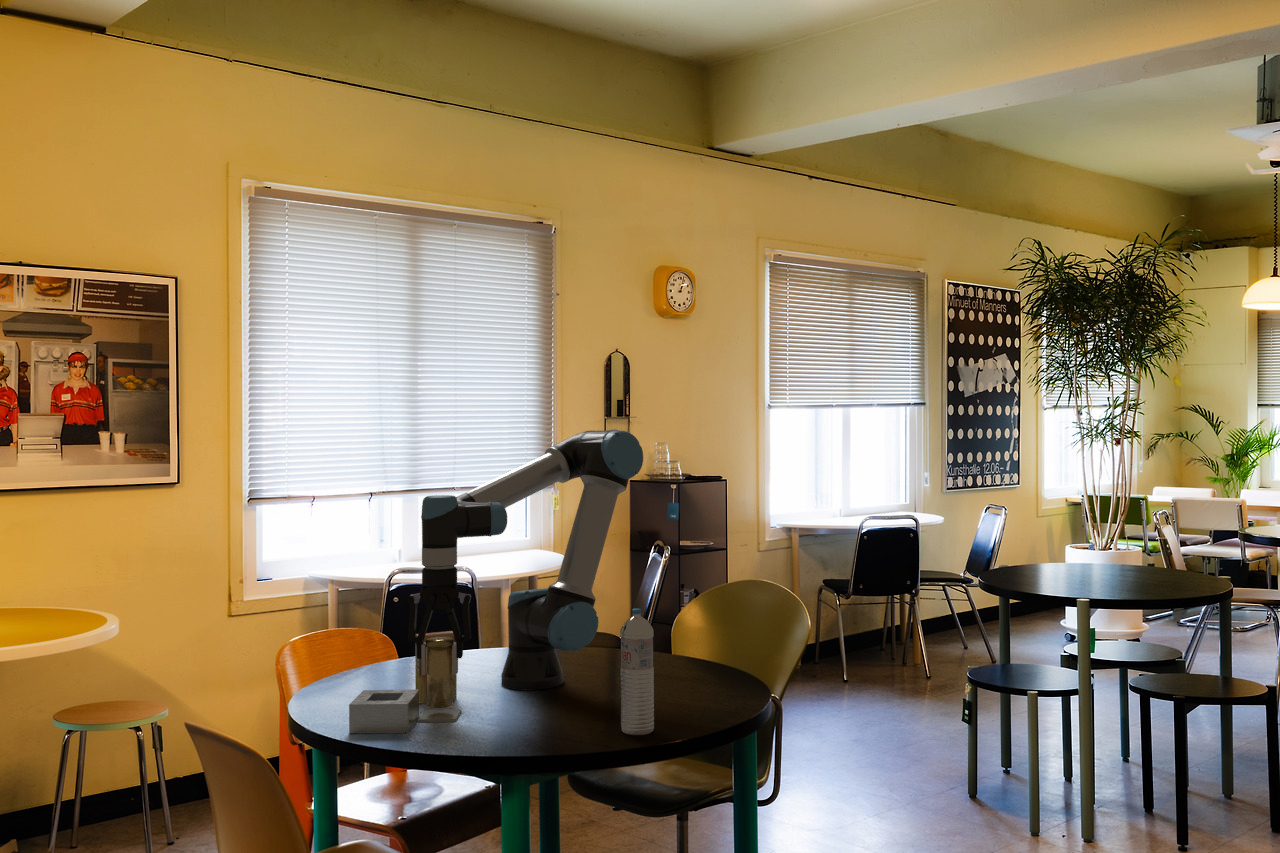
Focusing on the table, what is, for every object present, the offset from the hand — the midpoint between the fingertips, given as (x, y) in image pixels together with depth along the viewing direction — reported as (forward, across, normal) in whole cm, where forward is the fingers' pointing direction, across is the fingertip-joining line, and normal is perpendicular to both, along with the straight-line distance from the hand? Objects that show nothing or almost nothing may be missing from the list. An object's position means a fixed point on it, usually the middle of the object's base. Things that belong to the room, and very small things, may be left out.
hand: (439, 673), depth 222 cm
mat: (+9, 0, 0) cm, 9 cm away
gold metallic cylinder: (+7, 0, 0) cm, 7 cm away
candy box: (+10, +4, -15) cm, 18 cm away
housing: (+9, +10, +6) cm, 15 cm away
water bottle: (+10, -42, +13) cm, 45 cm away
